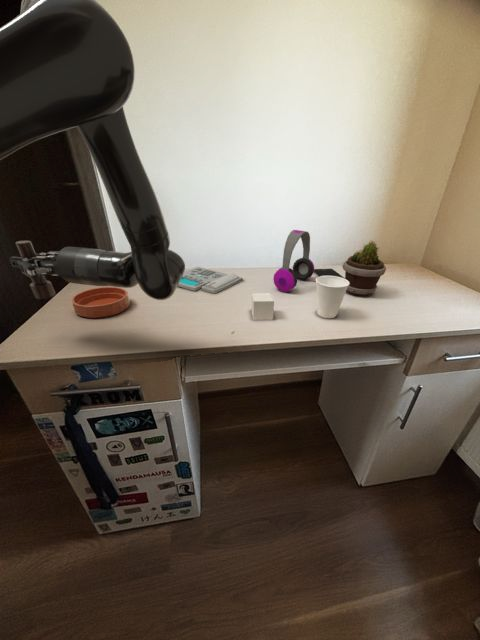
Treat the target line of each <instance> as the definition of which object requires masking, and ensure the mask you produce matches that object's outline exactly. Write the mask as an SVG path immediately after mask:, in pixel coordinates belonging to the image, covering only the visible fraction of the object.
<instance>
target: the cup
mask: <svg viewBox="0 0 480 640" xmlns="http://www.w3.org/2000/svg"><path fill="white" fill-rule="evenodd" d="M344 278H345V277H344ZM344 278H341V277H337V276H317V277H316V278H315V282H316V283H315V284H316V285H315V287H316V314H317V316H319V317H321V318H324V319H333V318H335V317H337V315H338V313H339V310H340V308H341V305H342V303H343V300H344V297H345V295H346V294H347V292H346V290H347V287H348V286H349V284H350V283H349V281H348V280H346V279H344Z"/></svg>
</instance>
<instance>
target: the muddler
mask: <svg viewBox="0 0 480 640" xmlns="http://www.w3.org/2000/svg"><path fill="white" fill-rule="evenodd" d="M15 246H16V247H17V250H18V252H19V255H20V257H23V258H33V257H35V256H36V254H37V253H36V251H35V249H34V245H33V243H32V241H31V240H18V241H16V242H15ZM31 263H32V264H34V263H33V262H31ZM30 280H31V283H30V284H29V287H30V290H31V292H32V294H33V296H34V298H35V299H37V300H43V299H44V300H45V299H46V300H47V299H50V298H53V297H55V296H56V292H55V288H54V286H53V284H52V282H51V281H50V280H47V278H46V276H45V274H39V278H37V279H31V278H30Z"/></svg>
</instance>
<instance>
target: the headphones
mask: <svg viewBox="0 0 480 640" xmlns="http://www.w3.org/2000/svg"><path fill="white" fill-rule="evenodd" d="M285 240H286V241H285V244H284V249H283V254H282V255H283V257H282V266H281V267H280V268H279V269H278V270H276V272H275V273H274V274H273V278H272V279H273V280H272V281H273V284H274V286H275V288H276V289H277V290H278V291H280V292H283V293H284V292H285V293H287V292H290V291H292V290H294V289H295V287H296V286H297V284H298V280H299V281H306V280H308V279H310V278H311V277H313V275H314V273H315V272H314V269H315V265H314V262H313V261H312V260H311V259H310V251H311V234H310V232H309V231H305V230H299V229H292V230H291V231H290V232H289V234H288V236H287V238H286V239H285ZM299 240H301V244H302V249H303V250H302V257H299V258H297V259H296V260H295V261H294V263H293V265H292V268H290V265H291V259H292V255H293V252H294V249H295V247H296V245H297V243H299Z"/></svg>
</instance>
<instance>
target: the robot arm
mask: <svg viewBox="0 0 480 640" xmlns="http://www.w3.org/2000/svg"><path fill="white" fill-rule="evenodd" d="M128 41H129V40H128V39H127V37H126V35H125V33H124V32H123V30H122V29H121V27H120V25H119V24H118V22H117V21H116V20H115V19H114V18H113V17H112V15H111V14H110V13H109V11H108V10H106V8H105V7H104V6H103V5H102V4H101V3H99V2H98V1H97V0H21V3H20V13H19V14H18V15H16V17H14V18H13V19H12V20H10V21H9V22H7V23H5V24H4V25H2V26H1V27H0V162H1V161H2V160H4V159H6V158H7V157H9V156H11V155H12V154H15V153H16V152H18V151H19V150H21V149H22V148H24V147H26V146H28V145H30V144H32V143H34V142H36V141H40V140H42V139H44V138H47V137H49V136H52V135H55V134H58V133H61V132H64V131H67V130H70V129H73V128H77V129H78V132H79V133H80V136H82V137H81V138H82V139H83V141H84V143H85V145H86V147H87V149H88V151H89V153H90V156H91V157H92V159H93V162H94V165H95V167H96V169H97V171H98V174H99V176H100V178H101V181H102V183H103V185H104V189H105V190H106V193H107V196H108V198H109V201H110V203H111V207H112V208H113V211H114V213H115V215H116V218H117V221H118V222H119V224H120V227H121V229H122V231H123V234H124V237H125V238H126V240H127V242H128V244H129V246H130V251H129V252H121V251H110V250H104V249H99V248H90V247H80V246H79V247H78V246H65V247H63V248H62V249H60V250H50V251H48V252H40V253H36V256H35V257H33V258H23V257H21V256H11V257H9V261H10V264H11V266H12V267H13V268H14V269H20V271H21V274H22V275H24V276H26V277H28V278H30V280H31V279H37V278H39V274H44V275H49V276H55V277H60V278H62V279H63V280H64V281H66V282H67V283H69V284H76V285H86V286H93V287H117V288H122V289H130V288H134V287H136V286H137V285H139V287H140V290H142V292H144V294H145V295H146V296H147V297H149V298H151V299H153V300H156V301H165V300H168V299H170V298H171V297H173V295H174V294H175V292H176V290H177V289H178V287H179V286H178V284H179V282H180V280H181V278H182V276H183V274H184V272H185V271H186V264H185V260H184V259H183V258H182V256H181V255H180V254H179V253H178V252H175V251H174V250H171V249H170V246H171V245H170V244H171V238H170V233H169V230H168V226H167V223H166V220H165V217H164V213H163V211H162V207H161V205H160V202H159V199H158V197H157V195H156V192H155V190H154V188H153V184H152V182H151V180H150V178H149V175H148V173H147V171H146V169H145V166H144V164H143V162H142V159H141V157H140V154H139V152H138V150H137V148H136V144H135V142H134V139H133V136H132V132H131V130H130V126H129V124H128V123H129V122H128V121H127V116H126V113H125V108H124V106H125V105H126V103H127V102H128V100H129V98H131V95H132V92H133V88H134V84H135V80H136V79H135V76H136V68H135V61H134V60H135V59H134V55H133V52H132V49H131V46H130V44H129V42H128ZM31 262H33V263H34V264H32V263H31Z"/></svg>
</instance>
